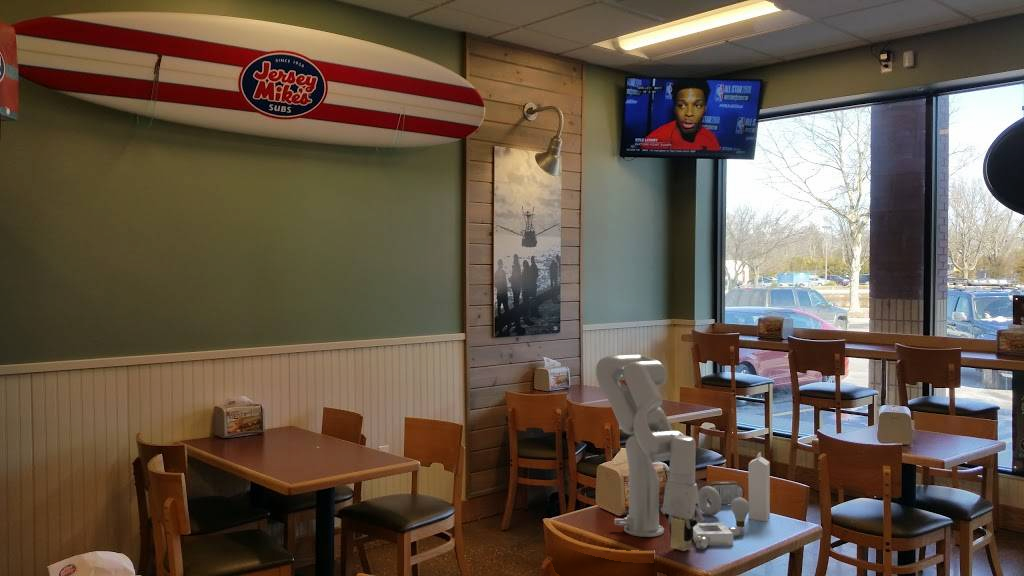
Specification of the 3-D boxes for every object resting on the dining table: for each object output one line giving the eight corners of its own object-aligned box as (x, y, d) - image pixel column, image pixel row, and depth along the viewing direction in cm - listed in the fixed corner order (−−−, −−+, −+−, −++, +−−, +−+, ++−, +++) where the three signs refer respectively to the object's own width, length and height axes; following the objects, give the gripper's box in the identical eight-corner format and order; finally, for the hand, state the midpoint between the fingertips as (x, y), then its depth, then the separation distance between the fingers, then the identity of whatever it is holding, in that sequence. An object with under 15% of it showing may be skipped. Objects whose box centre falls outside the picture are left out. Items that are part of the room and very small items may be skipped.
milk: (748, 519, 269) (747, 454, 269) (752, 514, 275) (751, 450, 274) (767, 521, 266) (766, 456, 266) (770, 516, 272) (769, 452, 272)
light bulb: (750, 531, 256) (750, 500, 256) (731, 530, 257) (731, 499, 257) (748, 526, 261) (748, 495, 261) (730, 525, 263) (730, 494, 263)
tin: (741, 502, 290) (741, 479, 290) (745, 504, 287) (745, 481, 287) (702, 504, 288) (702, 481, 288) (705, 506, 285) (705, 483, 285)
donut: (723, 518, 271) (723, 488, 271) (716, 519, 269) (716, 490, 269) (702, 510, 279) (702, 482, 279) (695, 512, 277) (695, 483, 277)
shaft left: (701, 543, 244) (701, 533, 244) (710, 544, 243) (710, 535, 243) (695, 549, 239) (695, 539, 239) (705, 550, 237) (705, 540, 237)
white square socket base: (697, 545, 242) (697, 534, 242) (688, 534, 253) (688, 523, 253) (733, 545, 242) (733, 533, 242) (722, 533, 253) (722, 522, 253)
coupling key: (670, 547, 238) (671, 517, 238) (678, 543, 241) (679, 514, 241) (683, 550, 235) (684, 520, 235) (691, 547, 238) (691, 517, 238)
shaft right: (726, 539, 248) (726, 529, 248) (721, 536, 251) (721, 527, 251) (743, 537, 250) (743, 528, 249) (738, 534, 252) (738, 525, 252)
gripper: (651, 474, 241) (650, 534, 241) (700, 486, 229) (699, 548, 230) (664, 470, 246) (663, 528, 247) (713, 481, 235) (712, 542, 235)
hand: (681, 537), depth 238 cm, fingers closed on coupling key, 4 cm apart
